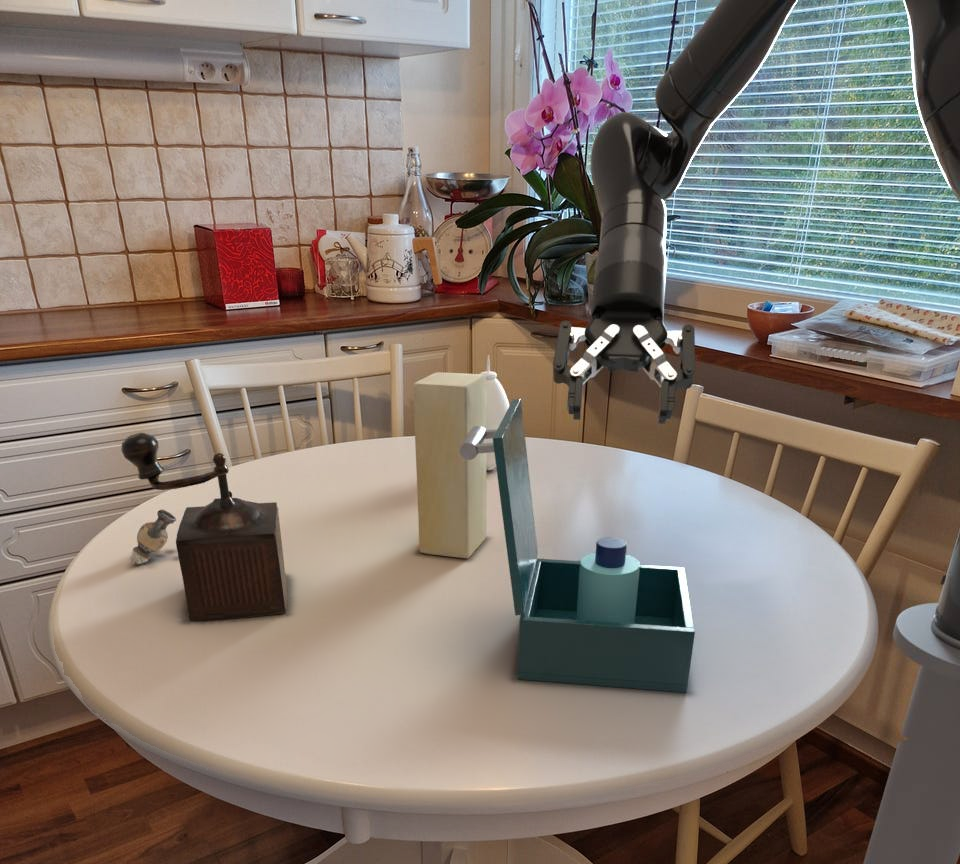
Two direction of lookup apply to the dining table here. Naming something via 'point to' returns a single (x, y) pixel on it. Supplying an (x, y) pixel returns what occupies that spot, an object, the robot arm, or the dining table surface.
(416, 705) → the dining table surface
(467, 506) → the toy refrigerator
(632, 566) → the water bottle
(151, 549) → the vase
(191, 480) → the manual coffee grinder
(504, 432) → the teal box lid
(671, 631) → the teal open box
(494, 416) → the sauce bottle
